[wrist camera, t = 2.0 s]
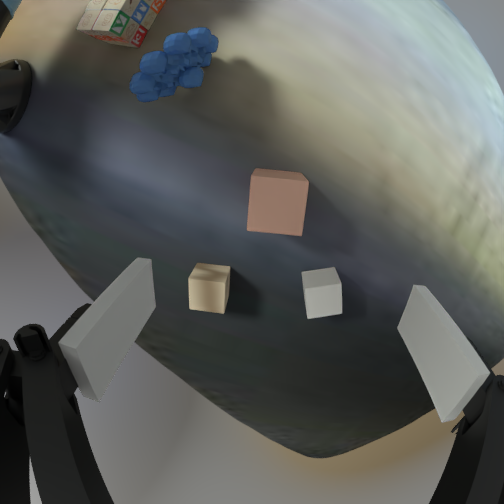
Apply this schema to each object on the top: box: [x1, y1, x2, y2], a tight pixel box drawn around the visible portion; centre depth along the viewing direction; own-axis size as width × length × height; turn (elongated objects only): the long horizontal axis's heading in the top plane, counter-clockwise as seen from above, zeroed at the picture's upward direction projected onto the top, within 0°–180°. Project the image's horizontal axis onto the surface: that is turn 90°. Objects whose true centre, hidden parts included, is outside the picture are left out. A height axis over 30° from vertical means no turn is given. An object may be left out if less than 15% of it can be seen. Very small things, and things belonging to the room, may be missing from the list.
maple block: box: [189, 263, 230, 313], centre depth 40 cm, size 5×5×5 cm
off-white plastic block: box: [301, 267, 342, 319], centre depth 39 cm, size 5×5×5 cm
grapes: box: [130, 27, 218, 102], centre depth 26 cm, size 12×7×12 cm, turn 133°
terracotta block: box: [247, 168, 309, 236], centre depth 33 cm, size 6×6×8 cm
